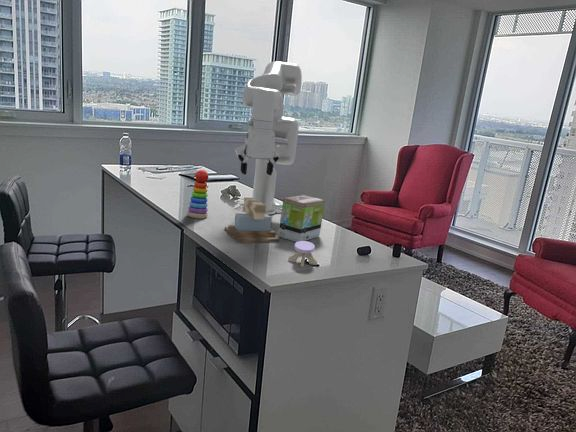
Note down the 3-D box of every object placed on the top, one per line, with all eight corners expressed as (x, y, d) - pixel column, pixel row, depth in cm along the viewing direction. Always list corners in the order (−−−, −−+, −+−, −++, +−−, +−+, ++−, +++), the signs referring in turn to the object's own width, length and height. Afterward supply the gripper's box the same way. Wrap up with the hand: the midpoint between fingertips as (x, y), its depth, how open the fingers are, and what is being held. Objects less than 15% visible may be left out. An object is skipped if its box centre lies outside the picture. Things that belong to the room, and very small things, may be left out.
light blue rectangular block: (264, 231, 175) (266, 214, 173) (269, 234, 171) (271, 217, 169) (233, 230, 170) (235, 213, 168) (237, 234, 166) (239, 216, 164)
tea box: (300, 243, 168) (306, 203, 165) (277, 236, 173) (282, 197, 170) (320, 236, 181) (325, 199, 178) (297, 230, 186) (302, 193, 183)
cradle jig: (261, 229, 181) (262, 223, 180) (279, 241, 167) (280, 235, 166) (224, 229, 174) (225, 222, 173) (239, 242, 160) (240, 235, 160)
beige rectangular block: (264, 219, 165) (266, 205, 164) (255, 219, 163) (256, 205, 162) (251, 211, 175) (253, 197, 174) (242, 210, 174) (244, 197, 172)
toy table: (293, 256, 153) (295, 239, 152) (320, 261, 151) (322, 244, 150) (284, 264, 144) (286, 246, 143) (313, 270, 142) (315, 251, 140)
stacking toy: (190, 219, 183) (194, 171, 179) (184, 214, 190) (188, 167, 186) (210, 219, 187) (214, 172, 182) (203, 214, 193) (207, 168, 189)
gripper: (241, 124, 156) (237, 175, 161) (288, 128, 164) (282, 177, 169) (234, 122, 163) (229, 171, 167) (279, 126, 171) (274, 172, 175)
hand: (256, 174), depth 168 cm, fingers open, 9 cm apart
